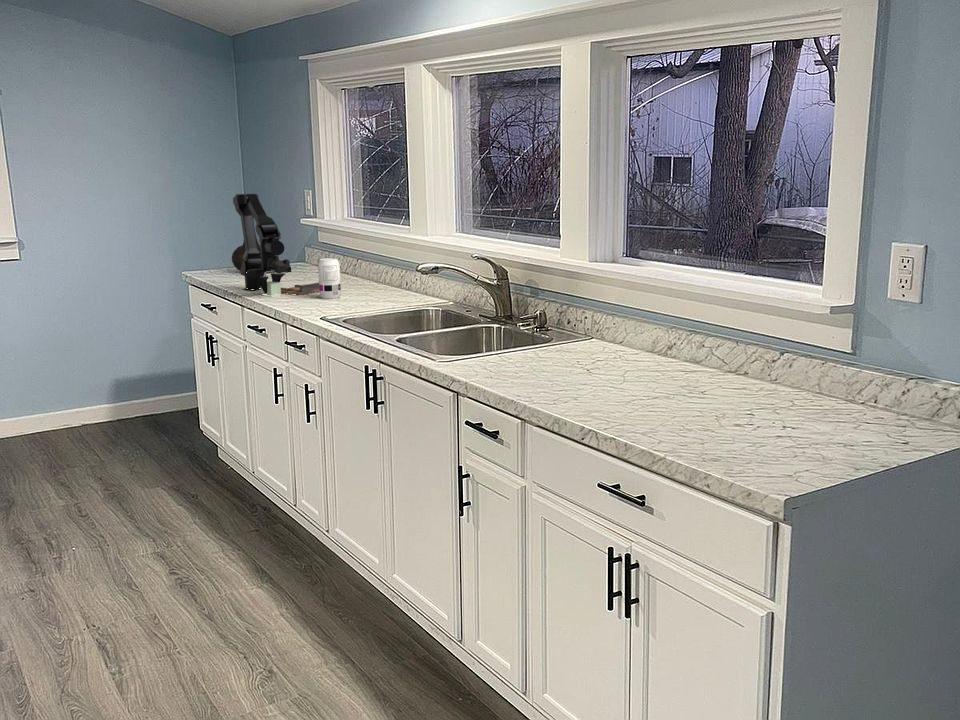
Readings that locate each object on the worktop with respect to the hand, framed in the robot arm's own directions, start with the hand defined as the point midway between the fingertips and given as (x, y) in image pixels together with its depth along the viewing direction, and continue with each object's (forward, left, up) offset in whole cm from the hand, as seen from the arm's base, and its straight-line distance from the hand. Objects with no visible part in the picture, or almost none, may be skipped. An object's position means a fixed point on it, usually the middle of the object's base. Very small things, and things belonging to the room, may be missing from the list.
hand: (270, 292), depth 379 cm
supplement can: (+26, +7, -1) cm, 27 cm away
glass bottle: (-63, +46, -1) cm, 78 cm away
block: (0, 0, -1) cm, 1 cm away
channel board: (+5, +11, -1) cm, 12 cm away
